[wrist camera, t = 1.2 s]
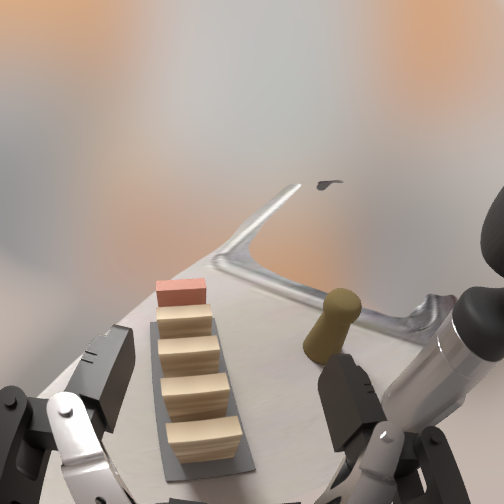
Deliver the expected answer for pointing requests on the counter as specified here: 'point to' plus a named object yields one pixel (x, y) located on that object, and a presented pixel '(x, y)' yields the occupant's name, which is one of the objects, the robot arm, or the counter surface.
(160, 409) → the mat
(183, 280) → the domino
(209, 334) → the domino
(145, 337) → the counter surface
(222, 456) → the domino
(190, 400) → the domino
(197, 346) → the domino
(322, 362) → the cork
